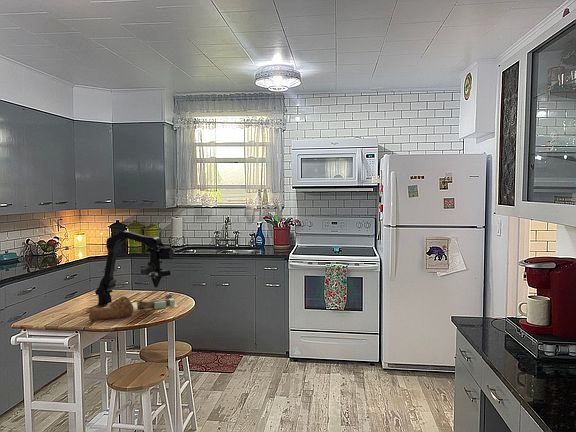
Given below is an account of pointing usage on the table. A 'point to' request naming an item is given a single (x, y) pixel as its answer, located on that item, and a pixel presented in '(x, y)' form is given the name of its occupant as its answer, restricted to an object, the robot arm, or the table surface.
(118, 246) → the robot arm
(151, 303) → the hinged leg
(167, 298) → the board
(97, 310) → the tan rounded lump
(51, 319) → the table surface
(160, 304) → the socket blocks
